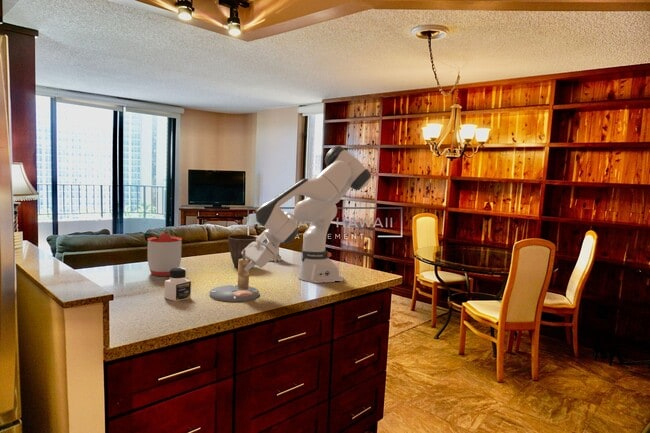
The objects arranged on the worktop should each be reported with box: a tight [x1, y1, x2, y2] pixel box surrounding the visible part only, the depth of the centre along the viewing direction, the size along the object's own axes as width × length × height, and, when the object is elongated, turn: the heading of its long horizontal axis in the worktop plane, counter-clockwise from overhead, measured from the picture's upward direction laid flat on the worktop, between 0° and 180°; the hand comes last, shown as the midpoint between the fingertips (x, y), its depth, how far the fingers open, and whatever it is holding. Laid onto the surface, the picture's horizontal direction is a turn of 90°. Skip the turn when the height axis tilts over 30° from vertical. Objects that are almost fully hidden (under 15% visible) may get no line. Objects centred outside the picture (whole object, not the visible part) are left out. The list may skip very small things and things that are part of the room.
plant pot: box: [227, 234, 258, 268], centre depth 224 cm, size 15×15×16 cm
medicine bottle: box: [163, 266, 192, 303], centre depth 165 cm, size 7×7×12 cm
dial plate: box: [209, 284, 260, 303], centre depth 174 cm, size 20×20×1 cm
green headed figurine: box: [270, 245, 282, 263], centre depth 245 cm, size 12×13×18 cm
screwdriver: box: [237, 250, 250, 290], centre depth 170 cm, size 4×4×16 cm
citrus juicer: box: [146, 232, 183, 277], centre depth 201 cm, size 16×17×20 cm
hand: (242, 268), depth 170 cm, fingers closed on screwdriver, 4 cm apart
